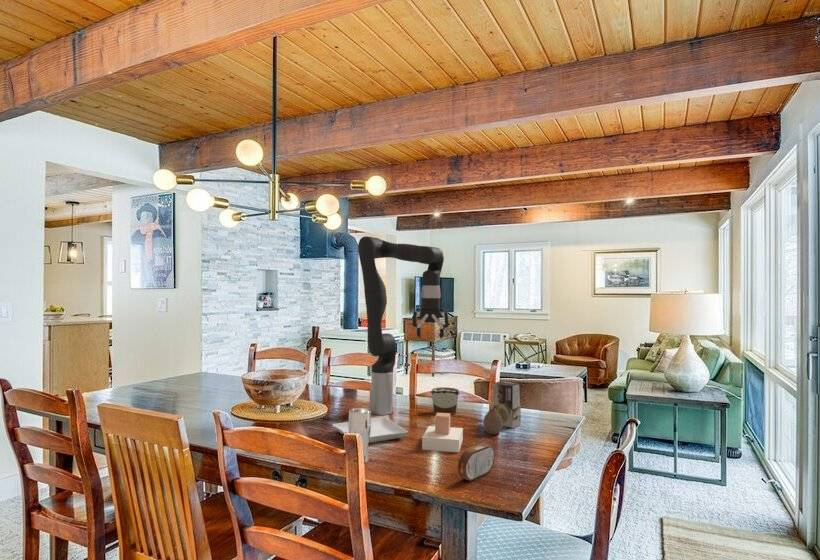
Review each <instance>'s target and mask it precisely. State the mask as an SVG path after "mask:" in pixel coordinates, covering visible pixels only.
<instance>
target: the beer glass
mask: <svg viewBox="0 0 820 560" xmlns="http://www.w3.org/2000/svg"><path fill="white" fill-rule="evenodd" d="M371 419H372V413H371V410H370V409H369V408H365V407H354V408H350V409H349V411H348V421H347V422H348V430H349V433H359V434H360V435H361V436H362V439H363V446H364V457H365V462H364V463H368V462H369V461H370V454H369V444H370V443H369V438H370V432H371Z"/></svg>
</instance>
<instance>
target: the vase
mask: <svg viewBox="0 0 820 560" xmlns="http://www.w3.org/2000/svg"><path fill="white" fill-rule="evenodd" d="M482 424H483V429H484V431H485V432H486V433H487V434H489V435H498V434H499V433H500V432H501V431H502V429H503V426H502V418H501V416H500V415H499V413H498V412H497V410H496V409H495V408H493V407H491V408H489V410H488V411H487V413H486V414H485V415H484V417H483V423H482Z"/></svg>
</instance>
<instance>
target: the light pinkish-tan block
mask: <svg viewBox="0 0 820 560" xmlns="http://www.w3.org/2000/svg"><path fill="white" fill-rule="evenodd" d="M435 414H436V415H434V416H435V419H434V420H435V421H434V423H435V425H434V426H435V434H443V435H449V433H450V427H451V414H450V413H435Z"/></svg>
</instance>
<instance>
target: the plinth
mask: <svg viewBox="0 0 820 560" xmlns="http://www.w3.org/2000/svg"><path fill="white" fill-rule="evenodd" d="M421 440H422V441H421V450H423V451H435V452H446V453H447V452H448V453H460V451H461V446H462V444H463V440H464V428H463V427H453V426H450V433H449V435H443V434H435V425H428V426H427V428H426V430H425V432H424V434H423V435H422V437H421Z"/></svg>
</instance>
